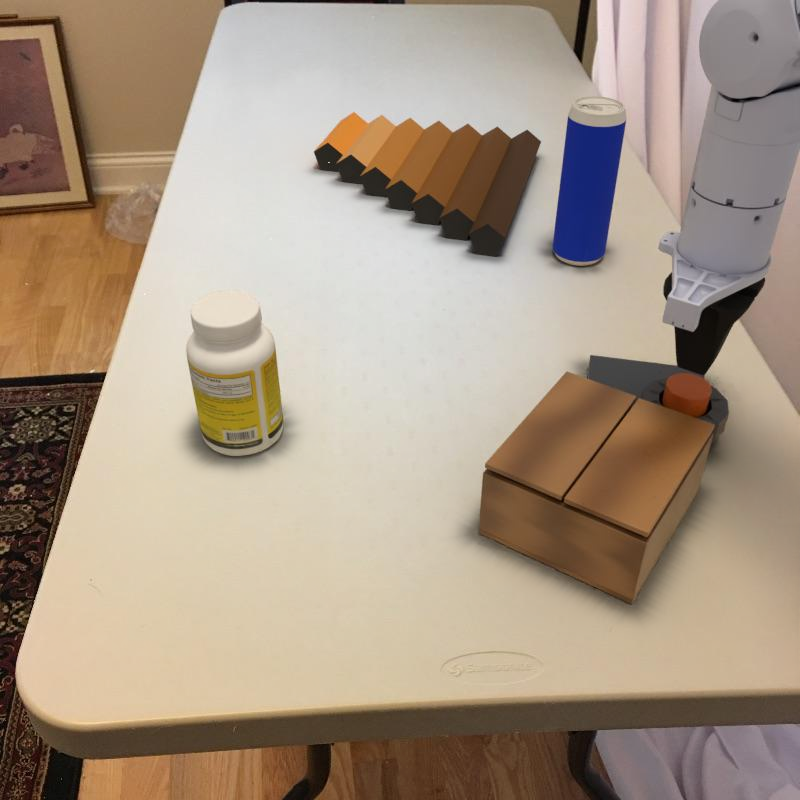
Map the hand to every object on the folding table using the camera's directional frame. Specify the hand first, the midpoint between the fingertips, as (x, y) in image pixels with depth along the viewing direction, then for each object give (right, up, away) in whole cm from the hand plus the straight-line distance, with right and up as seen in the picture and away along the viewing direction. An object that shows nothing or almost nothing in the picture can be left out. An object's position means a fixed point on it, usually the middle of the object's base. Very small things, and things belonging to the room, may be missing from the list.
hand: (693, 366), depth 65 cm
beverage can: (-3, +12, +25) cm, 28 cm away
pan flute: (-19, +21, +37) cm, 47 cm away
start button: (0, -3, +2) cm, 3 cm away
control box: (-2, -3, +6) cm, 7 cm away
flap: (-6, -6, -8) cm, 12 cm away
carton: (-8, -10, -3) cm, 13 cm away
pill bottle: (-33, -5, +4) cm, 33 cm away
